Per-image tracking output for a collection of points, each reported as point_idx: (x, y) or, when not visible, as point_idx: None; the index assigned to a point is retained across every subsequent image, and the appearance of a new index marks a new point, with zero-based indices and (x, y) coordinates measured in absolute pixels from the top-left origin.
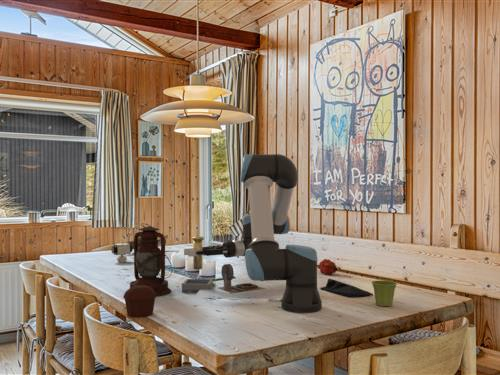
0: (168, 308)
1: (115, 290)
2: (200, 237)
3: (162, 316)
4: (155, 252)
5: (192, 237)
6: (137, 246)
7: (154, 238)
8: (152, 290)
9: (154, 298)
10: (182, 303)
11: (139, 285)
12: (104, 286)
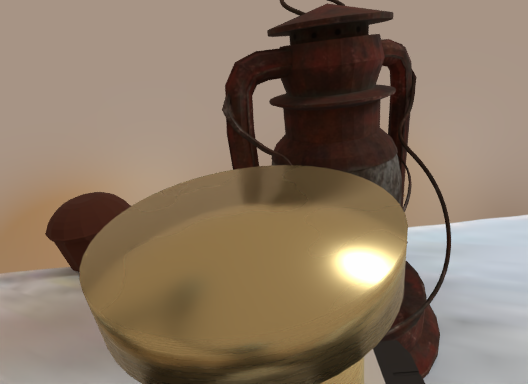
0: (78, 311)
1: (407, 245)
2: (130, 235)
3: (37, 284)
4: (273, 162)
5: (256, 167)
6: (391, 117)
7: (286, 86)
8: (53, 220)
9: (61, 243)
10: (79, 365)
11: (91, 198)
12: (485, 231)
